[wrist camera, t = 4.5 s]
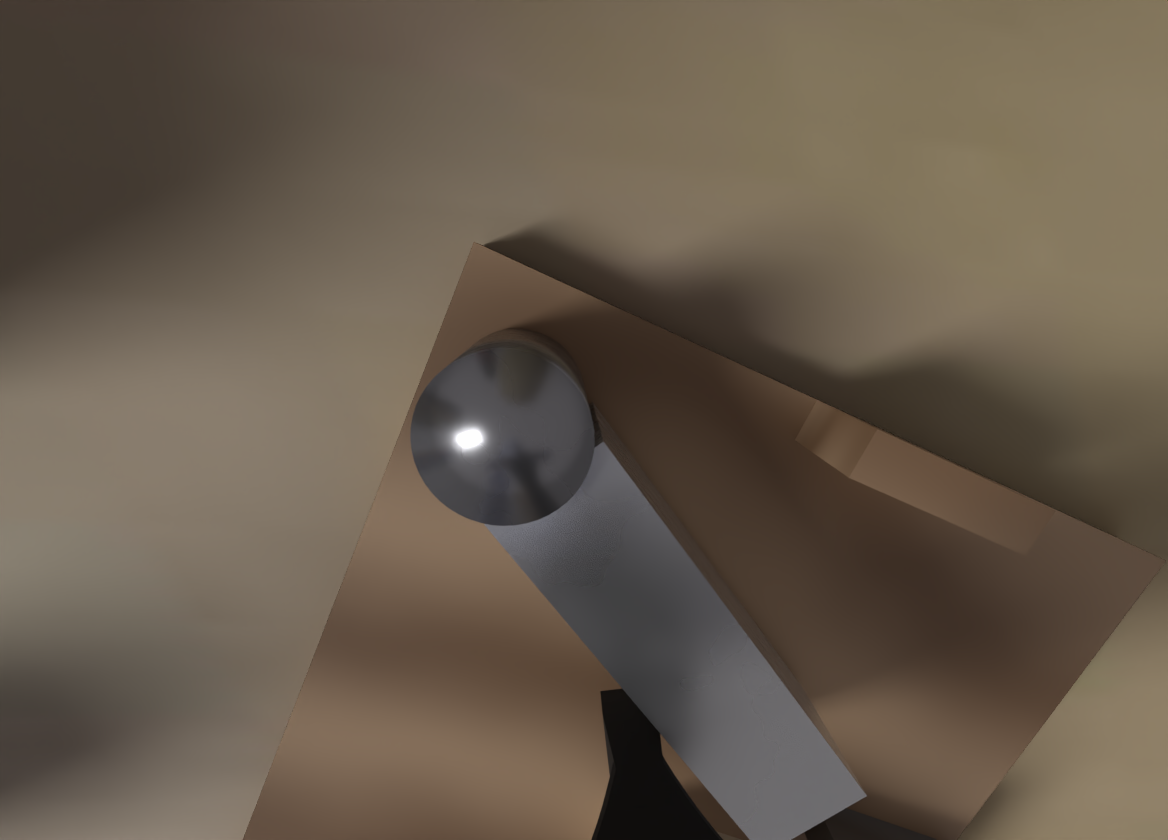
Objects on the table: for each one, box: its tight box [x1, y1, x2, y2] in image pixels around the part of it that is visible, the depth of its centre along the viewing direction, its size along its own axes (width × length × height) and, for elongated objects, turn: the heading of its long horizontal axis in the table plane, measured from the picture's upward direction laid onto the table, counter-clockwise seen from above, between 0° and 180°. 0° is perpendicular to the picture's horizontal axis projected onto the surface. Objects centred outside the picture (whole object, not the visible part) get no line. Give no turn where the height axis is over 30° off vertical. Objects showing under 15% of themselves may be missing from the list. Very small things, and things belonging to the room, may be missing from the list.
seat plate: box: [243, 242, 1166, 840], centre depth 14 cm, size 19×18×4 cm
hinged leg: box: [410, 329, 867, 840], centre depth 11 cm, size 11×3×3 cm, turn 36°
